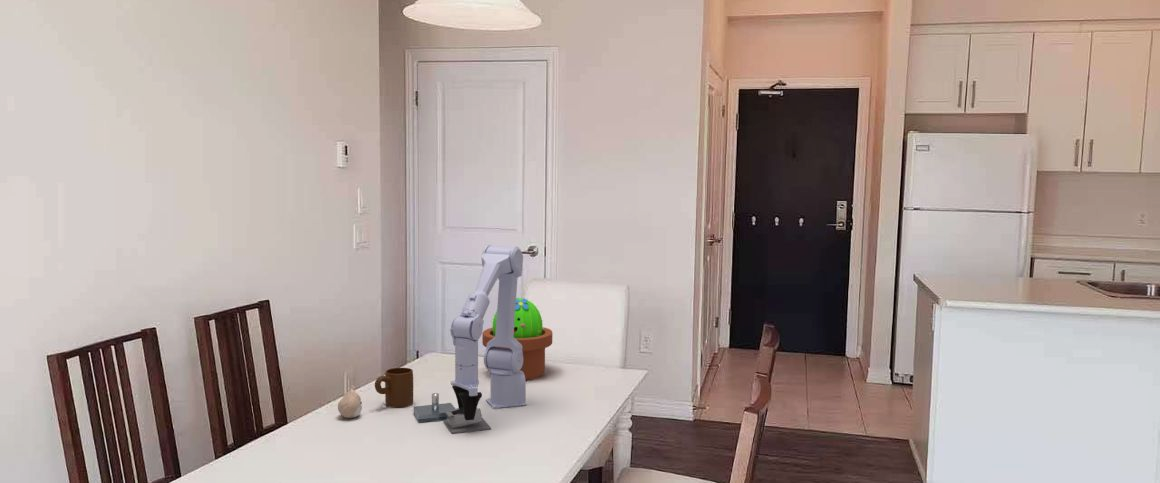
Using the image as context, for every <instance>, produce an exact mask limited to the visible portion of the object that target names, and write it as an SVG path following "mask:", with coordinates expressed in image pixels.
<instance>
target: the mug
mask: <svg viewBox="0 0 1160 483" xmlns="http://www.w3.org/2000/svg"><path fill="white" fill-rule="evenodd" d="M384 374H385V375H380V376H379V377H377V378H376V380H375V382H374V389H375V391H376V392H377V393H378V394H380V395H384V398H385V402H384V403H385V405H386V406H388V407H390V408H398V409H399V408H406V407H409V406H412V404H413V403H414V371H413V368H408V367H393V368H388V369H387V370H385V373H384ZM382 382H384V387H382V385H381V384H382Z"/></svg>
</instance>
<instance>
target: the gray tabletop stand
mask: <svg viewBox="0 0 1160 483" xmlns="http://www.w3.org/2000/svg"><path fill="white" fill-rule="evenodd" d="M445 414H446V420H447V423H448V425H449V426H450V428H451V429H455V428H458V427H462V426H466V425H469V424H473V423H477V422H480V421H482V418H483V415H482V410H481V408H480V407H478V408H477V409H476V413H475V417H474V420H467V421H466V420H465V416H464V410H463V407H461V408H459V407H458V408H455V409H453V410H449V411H446V412H445Z"/></svg>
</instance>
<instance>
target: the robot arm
mask: <svg viewBox="0 0 1160 483" xmlns="http://www.w3.org/2000/svg"><path fill="white" fill-rule="evenodd" d="M523 263H524V255H523V252H522V250H521V249H520V247H519V246H500V245H499V246H497V245H496V246H495V245H486V246H485V247H484V248H483V250H482V253H481V265H482V269H481V272H480V276H479V279H478V282H477V285H476V288H475V291H472V292H470V293H469V294H468V296H467V299H466V300H465V303H464V304H463V305H464V306H463V307H462V310H461V312H460V314H459V316H457V317H455V318H454V319H453V320H452V322H451V325H450V329H449V330H450V336H451V337H452V345H453V346H454V357H455V359H454V362H455V363H454V366H455V367H454V370H455V373H454V374H455V375H454V377H455V378H454V380H451V381H450V385H451V387H452V389H453V391H454V395H455V397H456V401H457V406H458V408H461V407H463V410H464V416H465V420H466V421H467V420H474V417H475V413H476V409H478V404H479V402H480V400H481V398H482V396H483V394H482V392H481V391H479V389H478V386H479V384H480V380H479V340H480V338H481V336H482V334H483V331H484V322H485V320H484V318H485V315H486V312H487V310H488V308H489V305H490V302H491V301H490V298H489V295H490V292H491V291H492V289H493V288H494V286H495V284H496V282H497V281H498V290H497V291H498V293H497V294H498V295H497V307H496V310H497V311H496V312H497V319H496V333H495V337H494V338H493V339H492V340H490V341H489V342H488V343H487V347H485V352H484V355H483V364H484V367H485V368H486V369H487V371H488V372H487V373H489V374H490V373H491V374H490V397H489V398H486V399H485V401H486V402H487V403H488V404H489V405H490V406H491V408H493V409H499V408H500V409H501V408H509V407H518V406H526V405H527V402H526V400H527V399H526V395H527V394H526V392H527V390H526V388H527V387H526V384H527V383H526V381H527V380H525V375H524V373H523V371H519V370H520V369H521V368H522V365H523V353H522V345H521V344H520V343H519V342H518V341H517V340H516V339H515V338H514V337H513V335H514V321H515V307H516V298H517V293H518V292H517V291H518V290H517V289H518V280H519V278H520V277H522V275H523V274H522V273H523V268H524V267H523ZM497 347H505V348H510V349H504V348H497Z"/></svg>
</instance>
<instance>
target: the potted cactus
mask: <svg viewBox="0 0 1160 483" xmlns="http://www.w3.org/2000/svg"><path fill="white" fill-rule="evenodd" d="M492 317H493V318H492V326H491V327H489V328H487V329H485V330H483V331H482V335H481V336H482V341H481V342H482V345H483V347H485V348H486V347H487V343H488V342H489V341H490V340H492V339H493V338H494V337H495V333H496V319H497V309H496V312H494V314H493V315H492ZM513 337H514V338H515V339H516V340H517V341H518V342H519V343H520V344H521V345H522V353H523V365H522V368H521V369H520V370H519V371H523V373H524V375H525V381H529V380H535V379H538V378H541V377H542V376H543V375H544V374H546V373H545V372H546V348H549V347H551V345H552V344H553V330H552V329H550V328H548V327H544V326H543V319H542V316H541V312H540V310H539V309H538V308H537V306H536V305H535V304H534V302H532V301H530V300H529V299H528V298H526V297H523V298H521V297H519V296H517V297H516V307H515V321H514V335H513ZM497 348H504V349H510V348H505V347H497ZM489 374H490V375H491V373H490V372H489Z"/></svg>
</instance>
